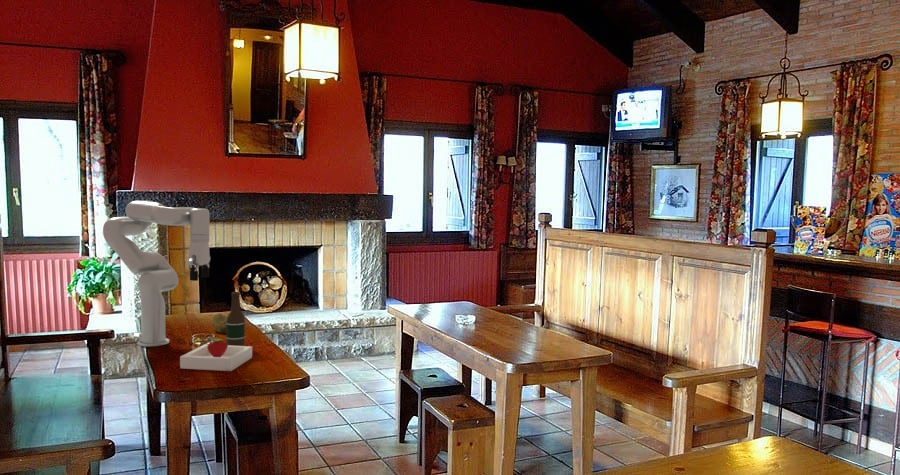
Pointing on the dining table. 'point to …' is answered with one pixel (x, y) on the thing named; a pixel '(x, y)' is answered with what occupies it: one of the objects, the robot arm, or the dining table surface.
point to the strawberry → (217, 347)
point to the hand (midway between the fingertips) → (199, 278)
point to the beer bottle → (235, 323)
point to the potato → (220, 322)
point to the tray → (216, 358)
